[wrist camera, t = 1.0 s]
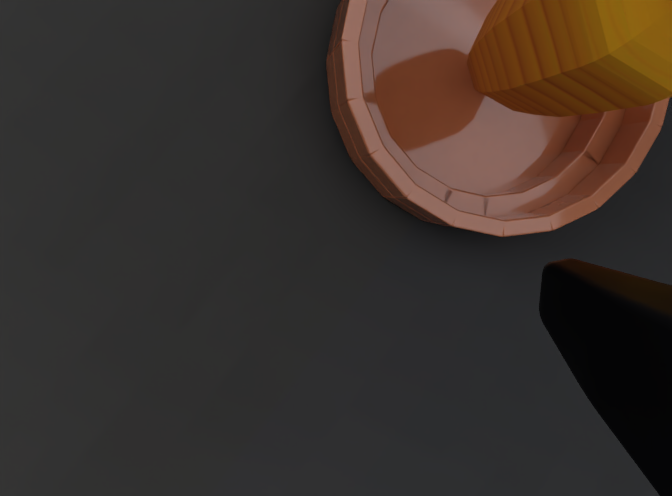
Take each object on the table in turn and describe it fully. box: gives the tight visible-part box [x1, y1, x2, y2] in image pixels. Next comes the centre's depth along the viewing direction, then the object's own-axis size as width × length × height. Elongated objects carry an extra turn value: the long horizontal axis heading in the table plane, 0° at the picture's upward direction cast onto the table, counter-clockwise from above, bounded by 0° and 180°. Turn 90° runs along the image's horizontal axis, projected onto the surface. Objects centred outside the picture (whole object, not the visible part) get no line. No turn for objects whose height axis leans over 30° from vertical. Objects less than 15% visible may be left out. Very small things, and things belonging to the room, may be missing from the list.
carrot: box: [467, 0, 672, 117], centre depth 16 cm, size 5×5×15 cm
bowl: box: [326, 0, 669, 237], centre depth 21 cm, size 12×12×4 cm
